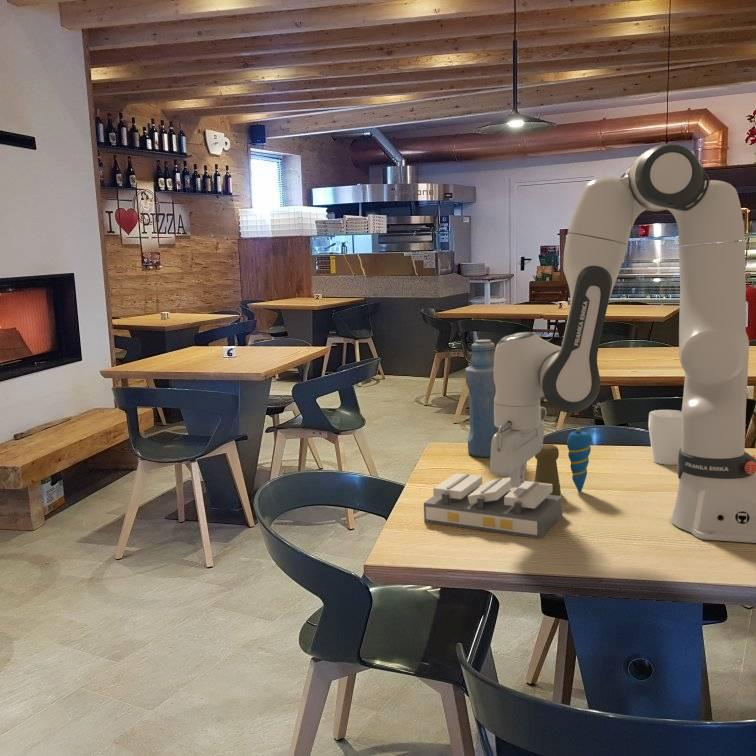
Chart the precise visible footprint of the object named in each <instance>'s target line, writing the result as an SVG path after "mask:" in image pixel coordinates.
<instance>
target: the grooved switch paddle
mask: <svg viewBox="0 0 756 756" xmlns="http://www.w3.org/2000/svg"><path fill="white" fill-rule="evenodd" d="M482 485H483V476H482V475H475V474H474V475H473V474H469V473H466V474H464V473H453V474H452V475H451V476H450V477H448V478H446V479H445V480H444V481H442V482H440V483H439V484H437V485H435V487H433V488H432V490H433V491H432V492H433V496H440V497H442V493H447V494H449V498H455V499H462V498H463V497H465V496H466V495H468V494H469V493H470V492H472V491H473V490H474V489H476V488H477V487H478V486H480V487H481V486H482Z"/></svg>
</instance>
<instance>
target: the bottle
mask: <svg viewBox="0 0 756 756" xmlns="http://www.w3.org/2000/svg"><path fill="white" fill-rule="evenodd" d="M495 349H496V345H495V343H494V342H492V339H476V340H474V343H472V344H471V359H470V360H471V361H470V366H467V367H466V368H465V369H464V370H465V371H464V373H465V383H466V386H467V388H468V398H469V399H468V403H469V407H468V409H469V434H468V437H467V452H468V454H469V455H470V456H473V457H475V458H482V459H483V458H489V459H490V456H491V443H492V438H493V436H494V435H495V434H496V433H498V427H496V426H495V425H494V398H495V394H496V386H495V383H494V356H495Z"/></svg>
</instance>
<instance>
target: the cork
mask: <svg viewBox="0 0 756 756" xmlns="http://www.w3.org/2000/svg"><path fill="white" fill-rule="evenodd" d="M559 454H560V451H559V449H558V446H556V445H554V444H549V443H545V444H544V443H543V445H542V449H541V451H540V452H539V453H538V454H536V455H535V456H534V458H535V459H536V467H535V474H534V482H539V483H548V484H552V493H551V494H550V495H556V496H562V491H561V485H560V476H559V471H558V464H557V460H558V458H559Z"/></svg>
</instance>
